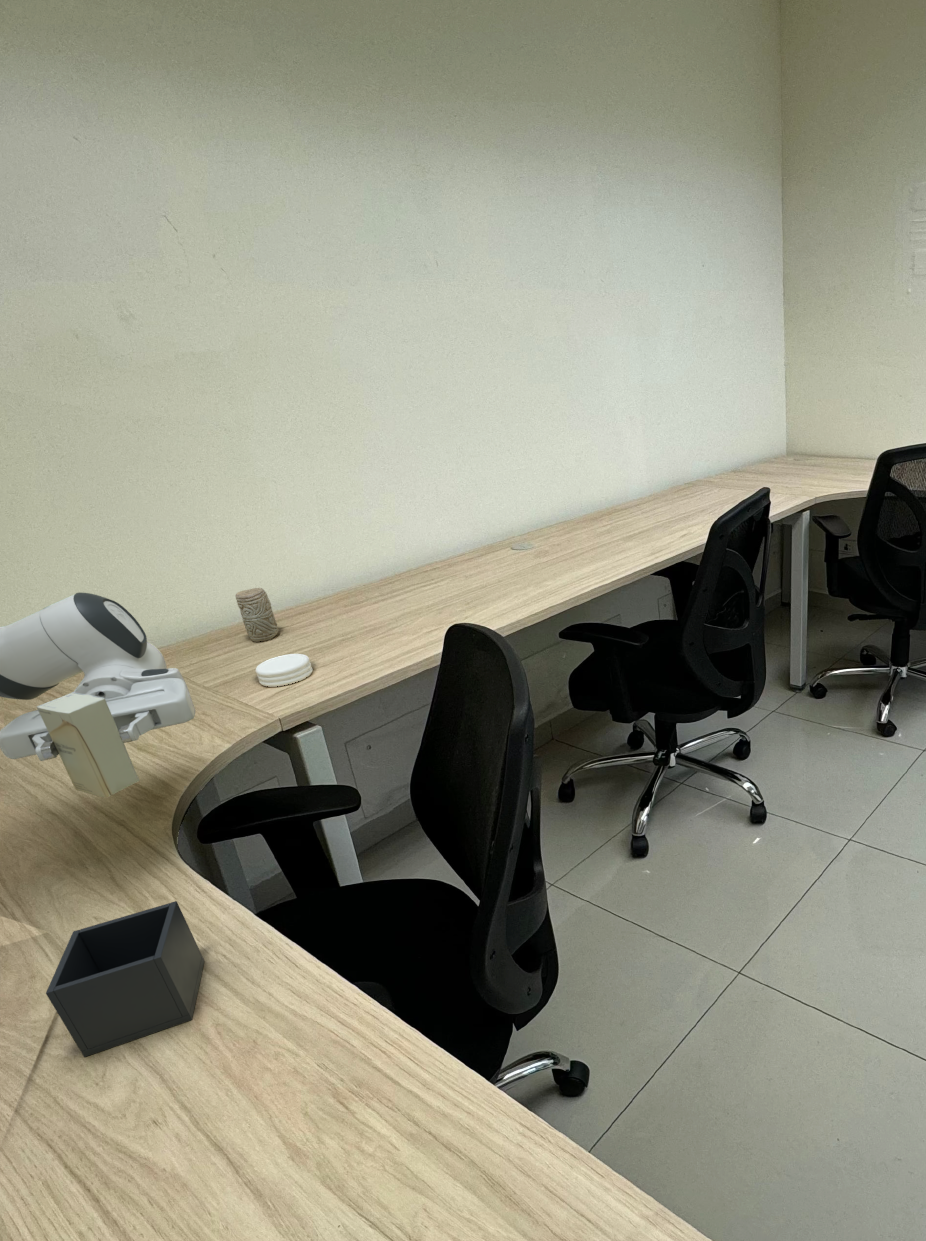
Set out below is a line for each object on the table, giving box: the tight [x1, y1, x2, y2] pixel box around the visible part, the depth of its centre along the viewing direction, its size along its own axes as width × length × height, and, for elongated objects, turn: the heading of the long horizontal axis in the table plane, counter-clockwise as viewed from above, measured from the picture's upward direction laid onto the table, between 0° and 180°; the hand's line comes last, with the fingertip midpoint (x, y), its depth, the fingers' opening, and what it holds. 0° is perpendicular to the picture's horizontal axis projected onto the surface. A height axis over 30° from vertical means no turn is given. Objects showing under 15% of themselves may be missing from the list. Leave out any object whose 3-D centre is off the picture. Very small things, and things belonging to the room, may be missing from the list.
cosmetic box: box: [36, 691, 140, 799], centre depth 94 cm, size 6×4×12 cm
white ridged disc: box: [255, 653, 313, 688], centre depth 158 cm, size 10×10×4 cm
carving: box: [234, 587, 279, 643], centre depth 179 cm, size 6×8×12 cm
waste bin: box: [45, 900, 205, 1058], centre depth 79 cm, size 9×9×9 cm
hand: (87, 745), depth 93 cm, fingers closed on cosmetic box, 7 cm apart
